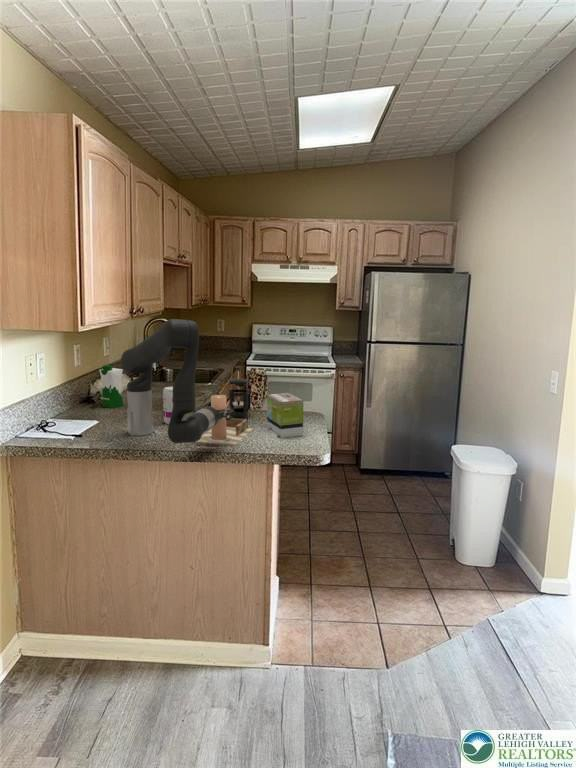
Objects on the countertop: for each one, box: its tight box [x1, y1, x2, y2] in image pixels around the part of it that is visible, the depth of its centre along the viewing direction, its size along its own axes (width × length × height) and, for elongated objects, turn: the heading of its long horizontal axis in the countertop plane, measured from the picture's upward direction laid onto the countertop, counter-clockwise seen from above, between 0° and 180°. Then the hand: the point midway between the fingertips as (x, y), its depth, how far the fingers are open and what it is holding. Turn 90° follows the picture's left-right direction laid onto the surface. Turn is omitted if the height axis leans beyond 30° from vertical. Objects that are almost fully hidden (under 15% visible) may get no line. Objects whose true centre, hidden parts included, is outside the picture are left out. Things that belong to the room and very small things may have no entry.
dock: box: [195, 418, 255, 446], centre depth 207 cm, size 25×16×4 cm, turn 167°
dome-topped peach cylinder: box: [210, 394, 227, 440], centre depth 201 cm, size 8×6×16 cm
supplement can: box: [162, 386, 184, 425], centre depth 228 cm, size 8×8×15 cm
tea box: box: [266, 392, 304, 439], centre depth 214 cm, size 15×10×15 cm
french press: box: [227, 365, 251, 419], centre depth 237 cm, size 12×9×23 cm
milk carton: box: [99, 364, 124, 409], centre depth 257 cm, size 9×9×20 cm
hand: (220, 409), depth 201 cm, fingers open, 8 cm apart
